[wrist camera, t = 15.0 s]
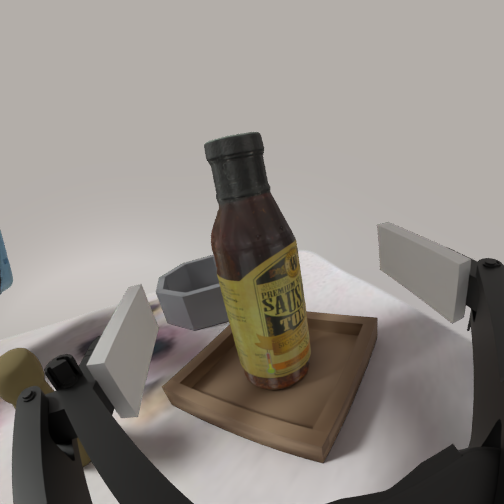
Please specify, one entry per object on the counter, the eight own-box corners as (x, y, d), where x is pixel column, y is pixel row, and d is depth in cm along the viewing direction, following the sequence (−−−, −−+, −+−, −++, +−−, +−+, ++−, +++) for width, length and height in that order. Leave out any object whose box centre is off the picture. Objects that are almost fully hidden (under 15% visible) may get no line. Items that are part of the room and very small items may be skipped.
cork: (91, 418, 23) (34, 330, 19) (105, 457, 18) (32, 362, 14) (48, 437, 19) (-14, 353, 16) (56, 478, 15) (-25, 389, 11)
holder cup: (151, 318, 42) (140, 289, 40) (205, 280, 51) (197, 254, 50) (216, 336, 34) (204, 300, 33) (269, 285, 44) (262, 255, 42)
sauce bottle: (292, 402, 21) (234, 130, 15) (231, 382, 25) (162, 153, 18) (325, 352, 26) (290, 126, 19) (269, 341, 30) (223, 141, 23)
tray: (172, 404, 24) (161, 386, 23) (254, 321, 36) (250, 304, 35) (323, 463, 16) (321, 447, 15) (377, 337, 27) (377, 317, 26)
